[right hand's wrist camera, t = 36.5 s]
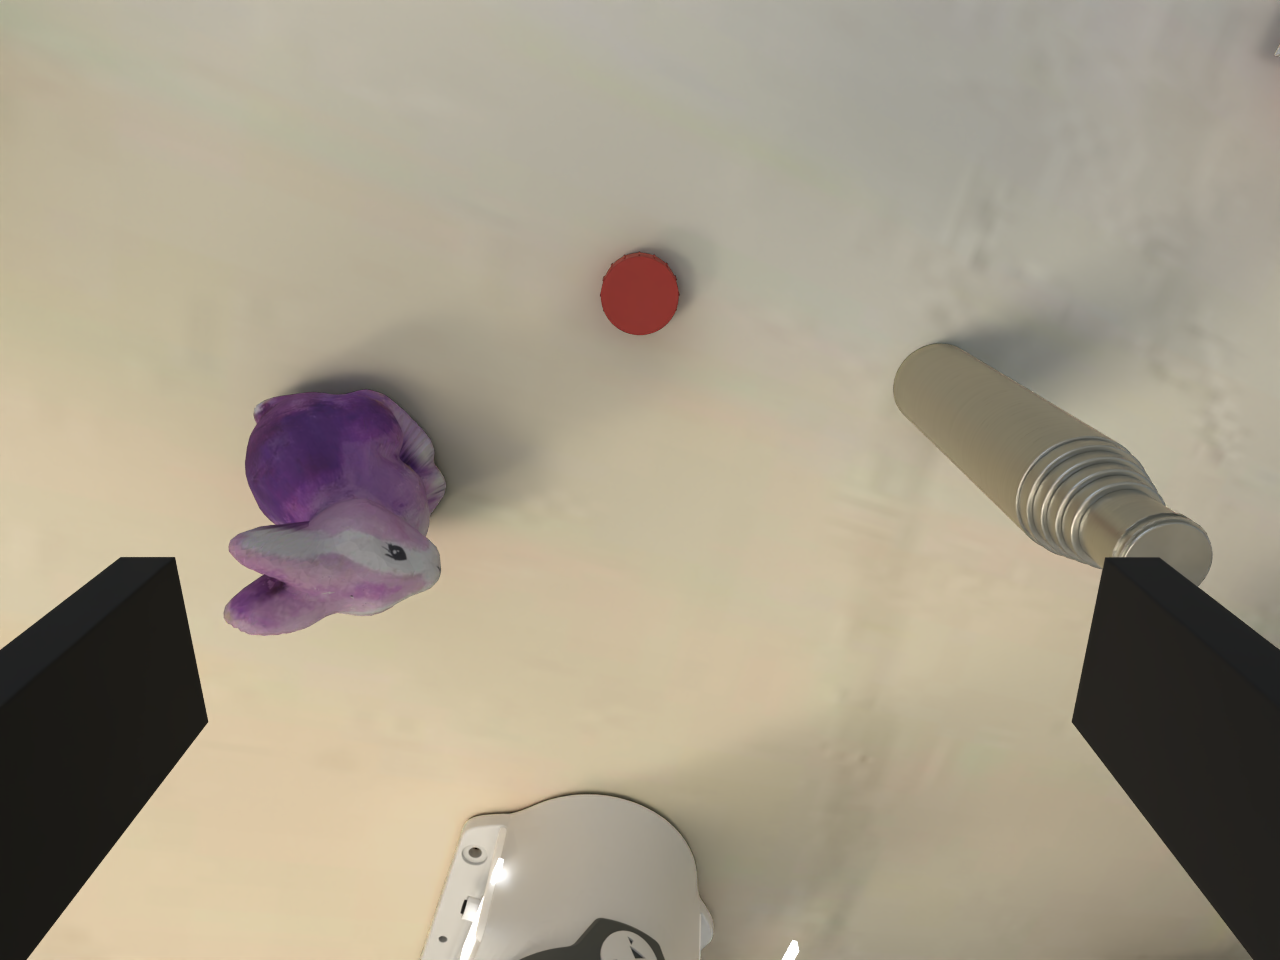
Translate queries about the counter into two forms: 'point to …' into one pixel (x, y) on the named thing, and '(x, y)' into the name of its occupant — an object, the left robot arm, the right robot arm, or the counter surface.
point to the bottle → (1044, 465)
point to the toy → (1277, 51)
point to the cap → (639, 294)
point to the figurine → (335, 511)
